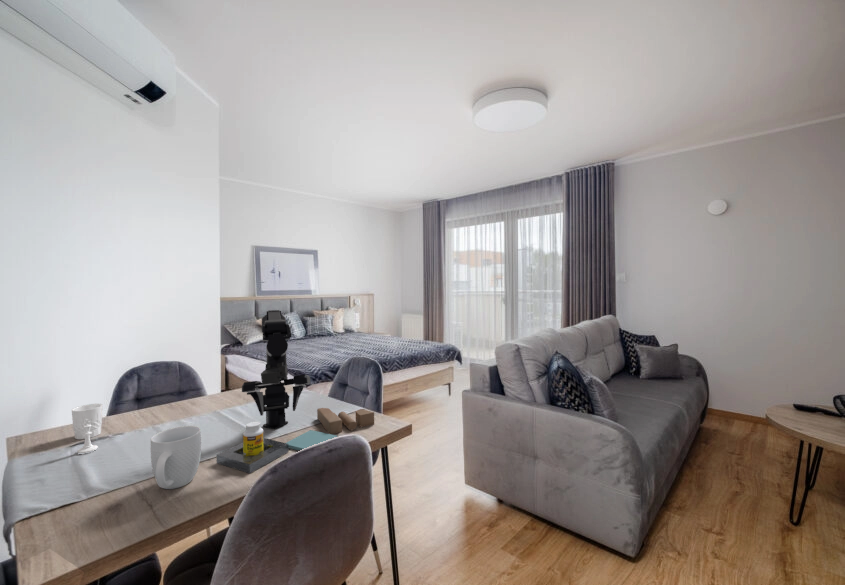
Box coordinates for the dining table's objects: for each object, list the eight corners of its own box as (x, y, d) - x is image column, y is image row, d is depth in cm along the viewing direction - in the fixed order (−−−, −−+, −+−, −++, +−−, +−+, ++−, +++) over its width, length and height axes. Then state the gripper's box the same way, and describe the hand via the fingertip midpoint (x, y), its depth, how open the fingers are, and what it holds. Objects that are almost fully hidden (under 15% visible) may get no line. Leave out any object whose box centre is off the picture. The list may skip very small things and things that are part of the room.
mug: (185, 500, 86) (184, 446, 86) (133, 506, 84) (132, 452, 84) (208, 469, 101) (207, 423, 101) (163, 474, 99) (162, 427, 98)
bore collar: (216, 462, 105) (216, 454, 105) (257, 443, 117) (256, 436, 117) (249, 473, 99) (249, 464, 99) (288, 451, 111) (288, 443, 111)
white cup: (67, 438, 123) (66, 409, 122) (95, 429, 130) (94, 402, 130) (80, 441, 120) (79, 412, 120) (108, 432, 127) (107, 405, 127)
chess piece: (101, 449, 114) (100, 418, 114) (81, 455, 110) (80, 423, 110) (93, 446, 116) (92, 415, 116) (73, 452, 112) (72, 421, 112)
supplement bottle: (244, 463, 104) (244, 429, 104) (242, 456, 109) (241, 422, 108) (265, 458, 107) (264, 424, 107) (262, 451, 112) (261, 419, 112)
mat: (284, 446, 115) (284, 443, 115) (310, 432, 126) (310, 429, 126) (312, 454, 110) (312, 450, 110) (337, 438, 120) (337, 435, 120)
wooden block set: (330, 420, 123) (316, 405, 139) (330, 436, 123) (316, 420, 139) (375, 410, 132) (357, 397, 147) (375, 425, 132) (357, 411, 147)
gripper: (234, 362, 102) (234, 419, 97) (302, 353, 104) (304, 409, 100) (248, 365, 112) (248, 417, 108) (309, 357, 115) (312, 408, 111)
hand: (278, 413), depth 106 cm, fingers open, 9 cm apart
